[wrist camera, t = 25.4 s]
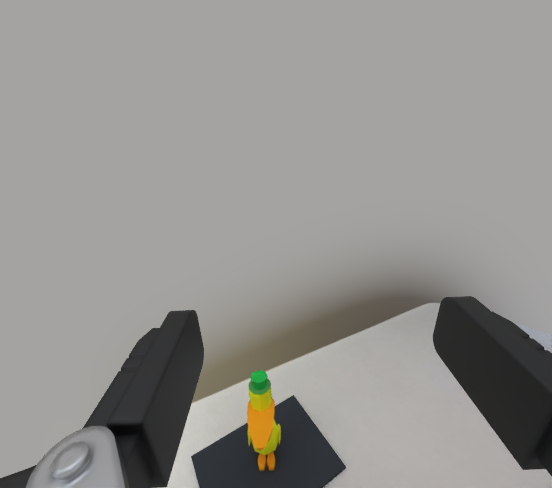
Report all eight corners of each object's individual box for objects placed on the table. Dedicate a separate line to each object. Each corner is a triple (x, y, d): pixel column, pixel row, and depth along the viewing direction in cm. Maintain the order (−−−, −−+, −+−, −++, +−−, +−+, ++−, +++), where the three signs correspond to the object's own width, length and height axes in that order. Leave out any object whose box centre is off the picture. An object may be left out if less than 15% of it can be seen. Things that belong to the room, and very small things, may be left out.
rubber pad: (222, 571, 22) (221, 569, 22) (191, 457, 30) (191, 456, 30) (345, 468, 29) (345, 466, 29) (293, 396, 37) (293, 395, 37)
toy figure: (284, 500, 26) (278, 419, 22) (248, 502, 26) (234, 421, 22) (281, 429, 32) (276, 355, 28) (251, 431, 32) (241, 357, 28)
